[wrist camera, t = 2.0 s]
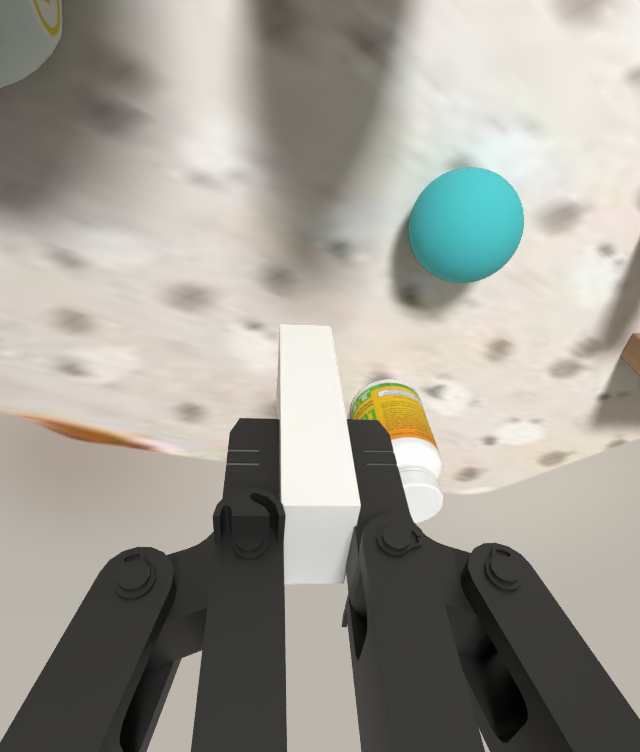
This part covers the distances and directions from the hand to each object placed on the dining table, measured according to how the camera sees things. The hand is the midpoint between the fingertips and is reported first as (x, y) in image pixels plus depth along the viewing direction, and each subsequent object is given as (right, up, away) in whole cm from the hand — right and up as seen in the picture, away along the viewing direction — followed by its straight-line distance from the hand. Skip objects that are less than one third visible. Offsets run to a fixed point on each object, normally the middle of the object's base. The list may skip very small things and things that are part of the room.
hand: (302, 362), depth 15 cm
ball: (+8, +8, +12) cm, 16 cm away
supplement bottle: (+6, -2, +23) cm, 24 cm away
